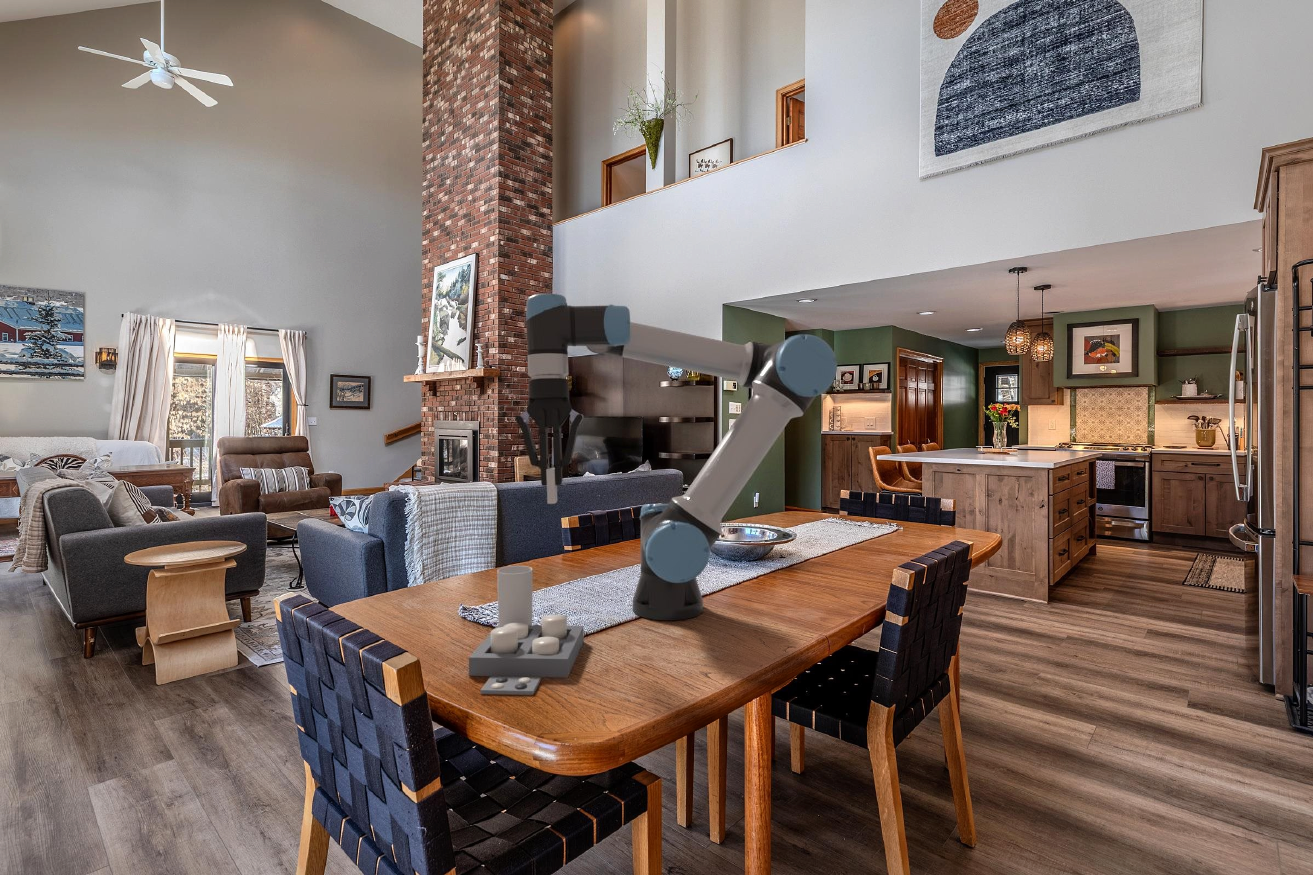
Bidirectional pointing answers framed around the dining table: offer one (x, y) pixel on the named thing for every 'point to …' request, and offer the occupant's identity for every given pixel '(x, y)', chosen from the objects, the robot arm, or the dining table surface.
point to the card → (511, 685)
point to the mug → (515, 594)
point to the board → (528, 657)
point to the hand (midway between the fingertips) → (552, 502)
